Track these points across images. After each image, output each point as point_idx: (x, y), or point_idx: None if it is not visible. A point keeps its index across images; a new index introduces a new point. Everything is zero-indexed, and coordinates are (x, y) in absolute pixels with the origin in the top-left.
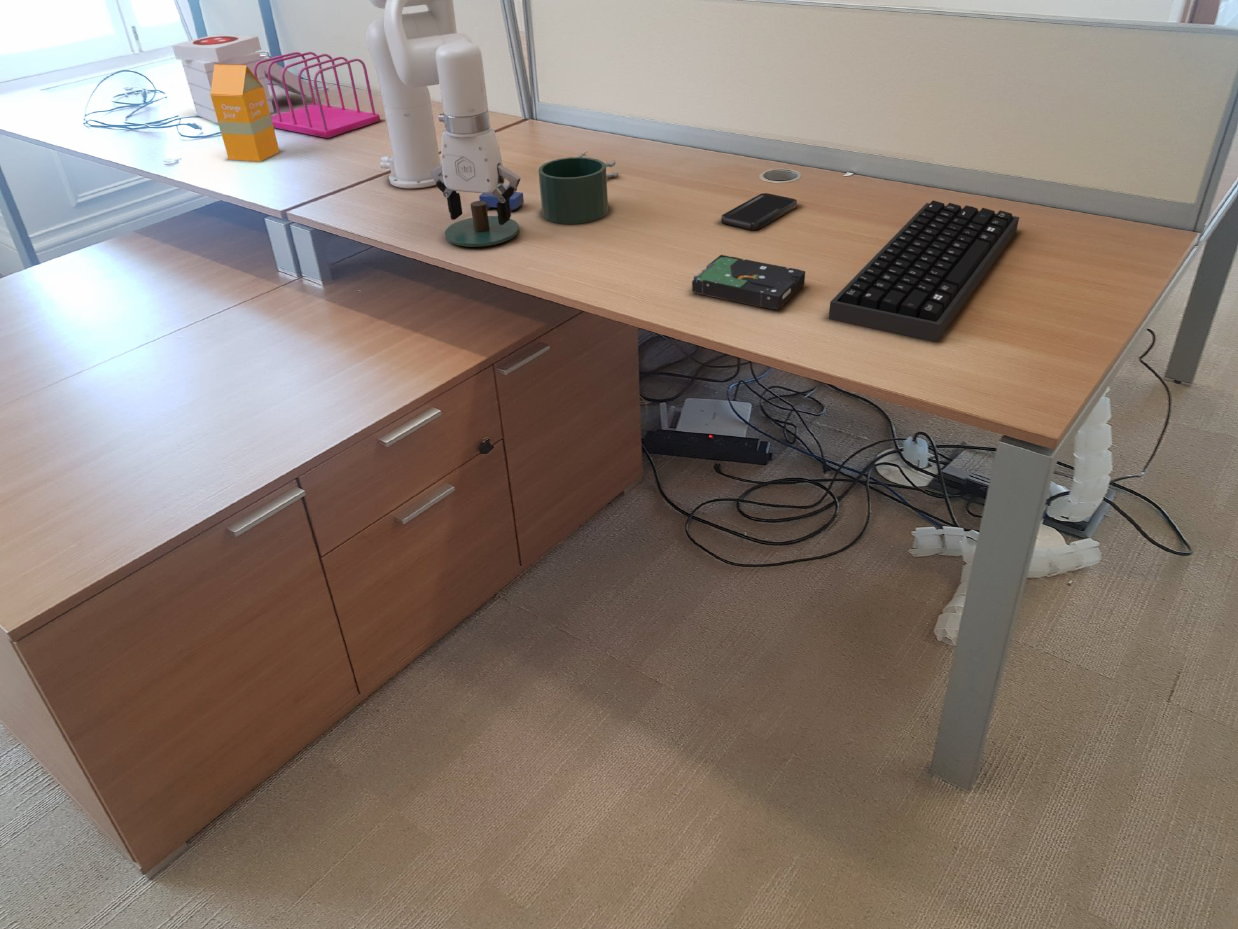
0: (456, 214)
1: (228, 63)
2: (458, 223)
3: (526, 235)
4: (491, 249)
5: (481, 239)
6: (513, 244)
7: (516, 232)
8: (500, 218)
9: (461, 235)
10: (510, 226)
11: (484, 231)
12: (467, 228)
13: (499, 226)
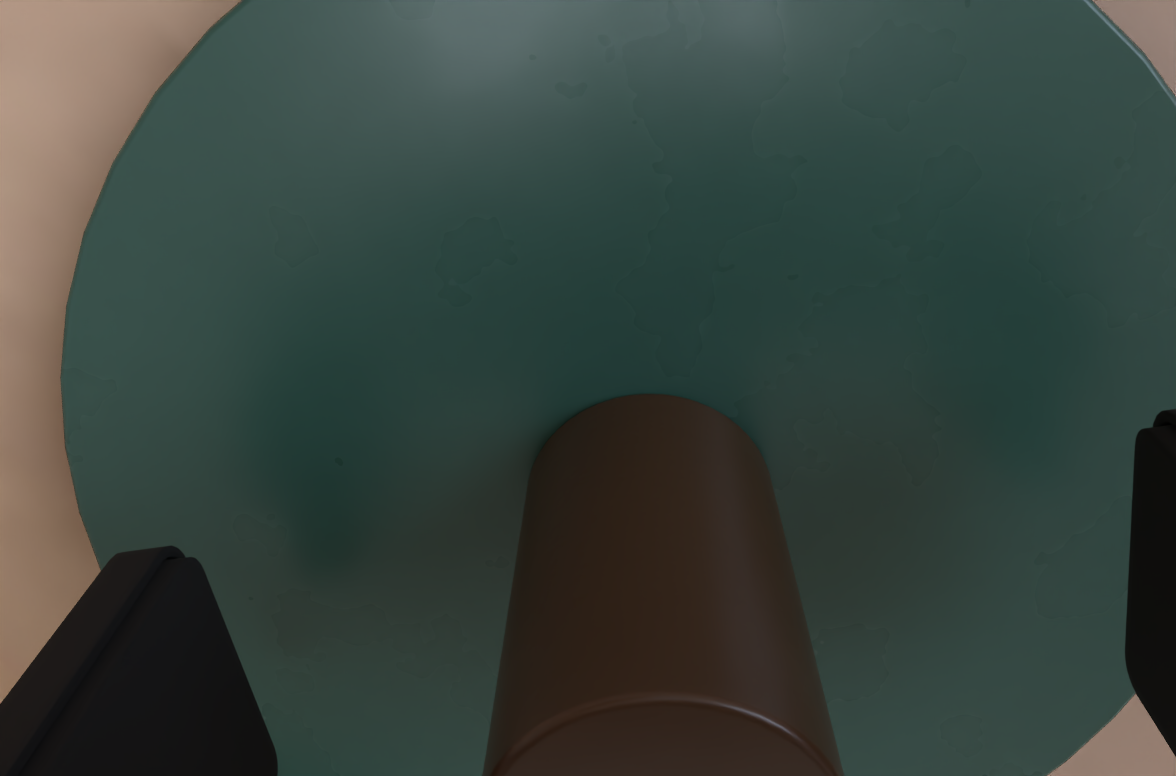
0: (1167, 537)
1: None
2: None
3: None
4: (156, 75)
5: (362, 156)
6: (26, 368)
7: None
8: (77, 613)
9: (820, 160)
10: (331, 714)
11: (548, 445)
12: (893, 441)
13: (470, 664)
